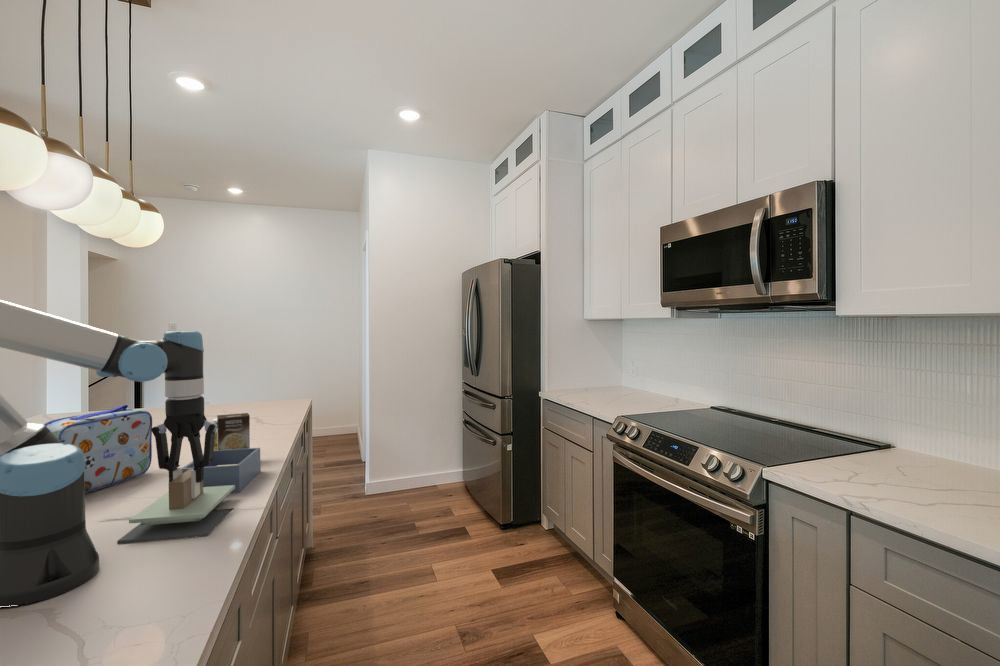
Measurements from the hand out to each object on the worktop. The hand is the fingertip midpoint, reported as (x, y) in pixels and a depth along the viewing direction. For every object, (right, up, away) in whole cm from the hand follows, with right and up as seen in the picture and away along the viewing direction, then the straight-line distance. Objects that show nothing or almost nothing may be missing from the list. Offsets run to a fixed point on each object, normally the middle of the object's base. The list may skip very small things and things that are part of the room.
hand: (186, 496), depth 108 cm
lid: (0, -3, 0) cm, 3 cm away
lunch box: (-40, -5, +23) cm, 46 cm away
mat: (0, -5, 0) cm, 5 cm away
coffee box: (-13, -5, +41) cm, 44 cm away
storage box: (-4, -5, +22) cm, 23 cm away
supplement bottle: (-23, -4, +52) cm, 57 cm away
